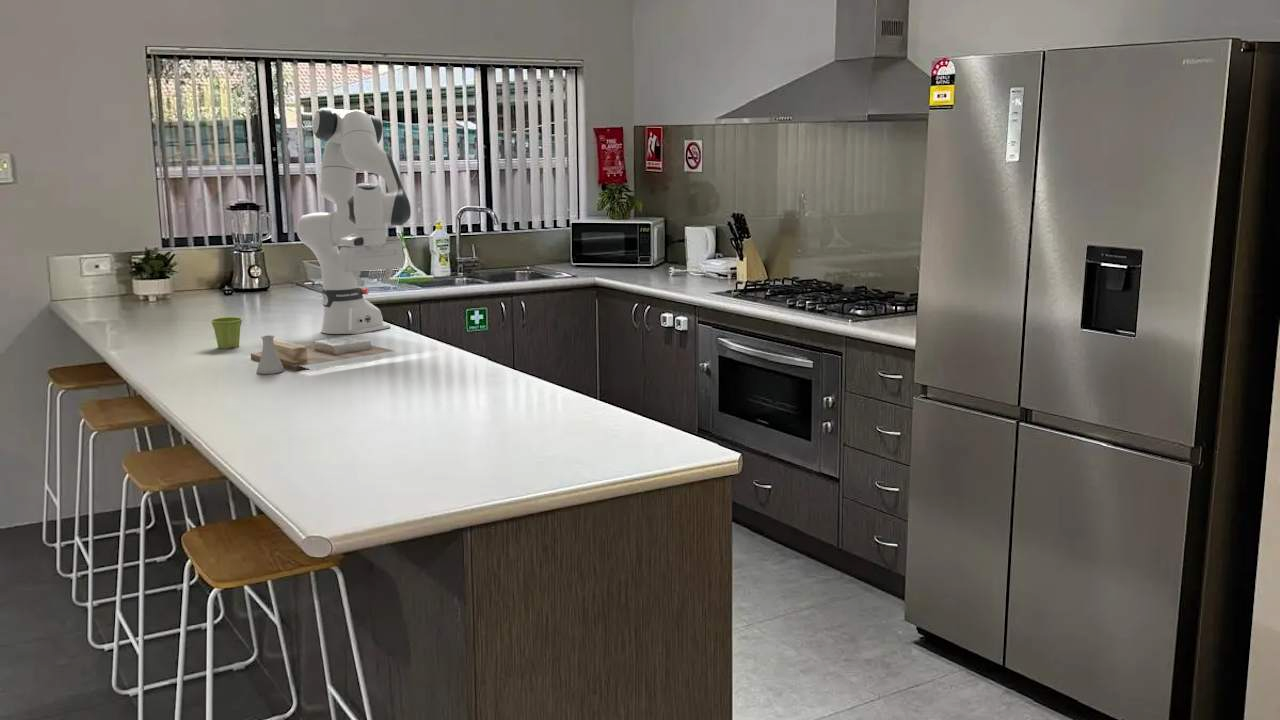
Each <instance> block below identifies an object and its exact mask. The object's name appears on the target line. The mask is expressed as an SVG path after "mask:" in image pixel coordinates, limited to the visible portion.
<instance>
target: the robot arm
mask: <svg viewBox="0 0 1280 720" xmlns="http://www.w3.org/2000/svg"><path fill="white" fill-rule="evenodd" d="M312 130H313V135H314V136H316V138H317V139H319V140H321V141H324V142H326V143H325V145H324V149H323V154H322V158H321V159H322V160H321V168H320V169H321V171H320V172H321V173H320V176H321V177H320V193H321V195H322V196H323V197H324V198H325V199H326V200H327V201H329V202H331V203H333V204H336V208H337V209H336V211H332V212H331V211H329V212H327V211H326V212H324V211H323V212H320V211H318V212H311V213H307V214H302V216H300V217H299V220H298V221H297V224H296V235H297V237H298V239H299V241H301V243H302V244H304V245H305V246H306V247H308V248H309V249H310V250H311V252H312V253H313V254H314V255H315V257H316V259H317V261H318V263H319V267H320V271H321V273H320V274H321V278H322V279H321V280H322V289H321V299H322V305H323V315H322V317H323V318H322V324H321V329H320V333H322V334H331V335H342V334H344V335H347V334H348V335H349V334H351V335H356V334H357V335H358V334H364V333H369V332H374V331H379V330H385V329H389V327H390V328H391V325H390V323H387V322H385V321H384V319H383V315H382V312H381V310H380V308H378V306H375V305H374V304H373V303H372V302H370V301H368V300H367V299H366V298H365V297H364V295H366V296H367V295H368V294H369V291H370V290H369V289H368V288H363V287H365V280H364V279H362V278H361V277H360V276H361V274H362V273H361V272H365V271H375V270H378V271H379V270H384V271H385V275H384V277H382V284H383V285H388V284H391V281H390V280H391V279H390V278H391V277H392V274H393V271H394V270H393V269H395V268H396V269H397V268H403V267H404V265H405V255H404V250H403V241H402V239H401V238H399V237H398V236H391V237H390V236H387V234H386V233H387V231H386V230H387V229H386V228H387V227H386V226H397V227H398V226H400V227H402V226H403V225H405V224H406V223H407V222H408V221H409V220H410V219H411V215H412V207H411V203H410V199H409V198H408V195H407V193H406V191H405V190H404V187H403V184H402V181H401V179H400V176H399V174H398V171H397V167H396V166H395V163H394V160H393V159H392V156H391V154H390V153H389V152H387V151H385V150H384V149H383V148H382V147H381V146H380V145H379V144H380V142H381V141H382V140H381V139H382V137H383V124H382V121H381V119H380V118H378V117H377V116H375V115H372V114H368V113H367V112H365V111H364V110H362V109H361V110H360V109H352V110H348V109H339V108H337V109H336V108H331V107H322V108H321V107H320V108H319V109H318V110H317V111H316V113H315V115H314V117H313V120H312ZM357 169H358V170H360V171H365V172H368V173H372V174H376V175H377V176H380V177H381V178H382V179H383V180H384V181H385V184H386V188H387V191H388V192H383V190H382V186H381V185H380V184H379V183H377V182H368V181H367V182H360V183H357ZM339 247H340V249H339Z"/></svg>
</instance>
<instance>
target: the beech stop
mask: <svg viewBox="0 0 1280 720" xmlns="http://www.w3.org/2000/svg"><path fill="white" fill-rule="evenodd" d="M273 343H274V347H275V350H276V352H277V355H278V357H279V359H282V360H285V361H289V362H292V363H297V362H303V361H307V349H306V347H305V346H306V345H301V344H297V343H292V342H288V341H284V340H280V339H277V338H276V339H273Z"/></svg>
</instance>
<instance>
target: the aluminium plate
mask: <svg viewBox="0 0 1280 720" xmlns="http://www.w3.org/2000/svg"><path fill="white" fill-rule="evenodd" d="M313 345H314V349H315V350H319V351H323V352H326V353H330V354H334V355H335V354H341V353H348V352H354V351H361V350H367V349H372V347H371V345H372V339H371V340H370V339H366V338H362V337H357V336H354V335H353V336H352V335H348V336H339V337H334V338H333V337H332V338H326V339H319V340H313Z"/></svg>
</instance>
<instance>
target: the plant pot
mask: <svg viewBox="0 0 1280 720" xmlns="http://www.w3.org/2000/svg"><path fill="white" fill-rule="evenodd" d="M209 321H210V323H212V328H213V331H214V335H215V339H216V343H217V348H219V349H224V350H228V349H231V348H233V349H236V348H238V347H240V338H241V337H240V336H241V325H242V321H243V318H242V317H237V316H226V317H225V316H224V317H217V318H212V319H210V320H209Z"/></svg>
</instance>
